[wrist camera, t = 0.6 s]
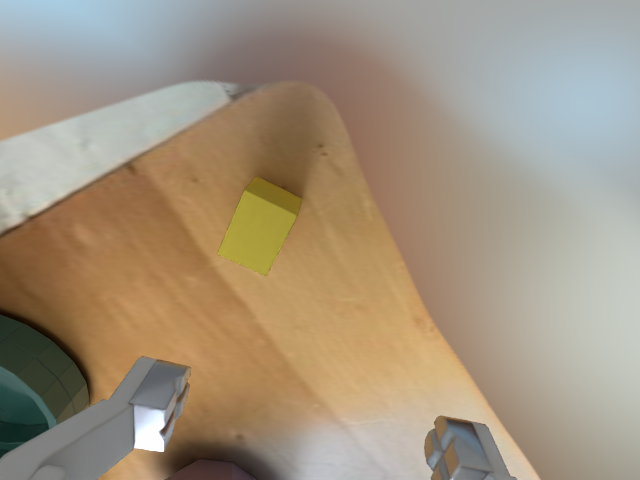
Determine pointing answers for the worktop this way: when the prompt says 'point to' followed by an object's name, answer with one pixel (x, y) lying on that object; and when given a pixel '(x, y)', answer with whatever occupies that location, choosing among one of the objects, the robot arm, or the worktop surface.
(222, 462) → the flask
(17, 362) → the bowl
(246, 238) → the yellow block
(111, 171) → the worktop surface
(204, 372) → the worktop surface
